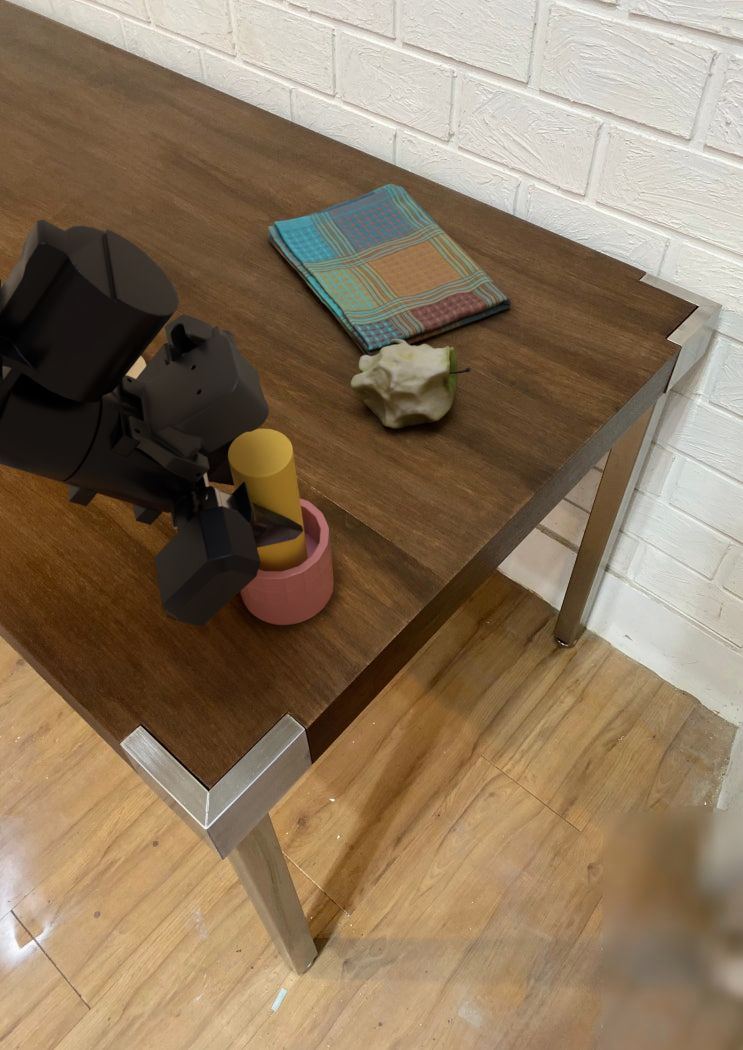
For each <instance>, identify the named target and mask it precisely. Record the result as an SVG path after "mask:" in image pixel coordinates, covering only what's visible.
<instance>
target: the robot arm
mask: <svg viewBox="0 0 743 1050" xmlns="http://www.w3.org/2000/svg"><path fill="white" fill-rule="evenodd" d="M179 301H180V300H179V296H178V293H177V290H176V288H175V286H174V284H173V282H172V281H171V280H170V278H169V276H168V275H167V273H166V272H165V271H164V270H163V269H162V268H161V266H160V265H158V263H157V262H156V261H155V260H154V259H153V258H152V257H150V255H149V254H147V253H146V252H145V251H144V250H142V248H140V247H139V246H137V245H136V244H135V243H133V242H132V241H131V240H129V239H127V238H126V237H124V236H123V235H121V234H119V233H118V232H115V231H113V230H111V229H110V228H109V229H108V228H106V230H105V231H104V230H101V229H99V228H95V227H93V226H88V225H82V224H81V225H72V226H70V227H69V228H67V229H66V230H64V229H63V228H61V227H59V226H58V225H57V226H56V225H55V224H53V223H51V222H50V221H47V220H46V219H38V220H36V221H35V223H34V225H33V226H32V228H31V230H30V231H29V233H28V234H27V236H26V237H25V240H24V243H23V246H22V251H21V254H20V256H19V258H18V260H17V261H16V263H15V265H14V266H13V268H12V270H11V271H10V272H9V274H8V276H7V277H6V279H5V281H4V282H3V284H2V279H1V278H0V465H3V466H5V467H8V468H12V469H15V470H18V471H21V472H25V473H29V474H32V475H35V476H38V477H42V478H44V479H47V480H48V479H49V480H51V481H55V482H58V483H62V484H64V485H67V489H68V502H69V503H73V504H76V505H80V506H82V507H83V506H84V507H87V506H88V505H89V504H90V503H91V502H92V501H93V499H94V498H95V497H96V496H97V495H101V496H104V497H106V498H107V497H108V498H111V499H114V500H118V501H120V502H123V503H127V504H130V505H133V511H134V512H133V513H134V518H135V521H136V522H138V523H142V524H146V525H149V526H151V525H152V524H153V523H154V522H155V521H156V520H157V519H158V518H159V517H160V516H161V515H162V513H166V514H170V519H171V520H170V521H171V525H172V529H173V530H177V533H176V534H175V535H174V536H173V537H172V538H171V539H170V540H169V541H168V542H167V543H166V545H164V546H163V547H162V548H161V550H160V551H159V552H158V553H157V554H156V555H155V556H154V562H155V563H154V564H155V569H156V574H157V582H158V588H159V595H160V601H161V607H162V608H163V611H164V613H165V616H166V617H167V618H168V619H170V620H173V621H176V622H177V623H178V622H179V623H183V624H190V625H193V626H198V627H204V626H205V625H206V624H207V623H208V622H209V621H210V620H211V619H212V618H213V617H214V616H215V615H216V614H217V613H218V612H220V611H221V610H222V609H223V608H224V607H225V606H226V605H227V604H228V603H229V602H230V601H232V599H234V598H235V597H236V596H237V595H238V594H239V593H240V591H241V590H242V589H243V588H244V587H245V586H247V585H248V584H249V583H250V582H251V581H252V580H253V579H254V578H255V577H256V576H257V573H258V569H259V566H260V563H261V562H260V558H259V554H258V550H257V548H258V547H262V546H267V545H272V544H276V543H281V542H285V541H290V540H294V539H296V538H297V537H298V536H299V535H300V534H301V533H302V532H303V527H302V526H301V525H300V524H298V523H296V522H294V521H293V520H291V519H289V518H287V517H284V516H282V515H280V514H278V513H275V512H273V511H271V510H268V509H266V508H264V507H261V506H259V505H257V504H254V503H252V502H251V499H250V495H249V491H248V487H247V484H246V482H243V483H242V484H241V485H240V486H239V487H238V488H237V489H236V490H235V489H234V491H233V492H232V493H228V492H225V491H223V490H219V488H218V487H217V486H213V485H210V483H215V484H221V485H227V486H233V487H235V486H234V482H233V477H232V473H231V469H230V465H229V461H228V450H229V448H230V445H231V444H232V442H233V441H234V440H235V439H236V438H237V437H239V436H240V435H242V434H243V433H245V432H252V431H254V430H255V429H260V427H261V426H262V425H264V423H265V422H266V421H267V419H268V417H269V412H270V409H269V404H268V402H267V400H266V398H265V396H264V392H263V388H262V385H261V382H260V374H259V373H258V370H256V369H255V368H254V366H253V365H252V364H251V363H250V362H249V361H248V359H247V358H246V357H245V356H244V355H243V354H242V353H241V352H240V351H239V350H238V345H237V342H236V338H235V337H234V333H233V332H232V331H230V330H228V329H224V330H222V329H221V328H220V327H219V326H218V325H216V326H214V325H212V324H210V323H209V322H206V321H205V320H201V319H198V318H196V317H193V316H190V315H188V314H186V313H182V314H181V315H179V316H178V317H176V318H174V319H173V320H171V321H170V319H171V318H172V316H173V315H174V314H175V312H176V311H177V309H178V308H179ZM168 321H170V322H168ZM163 328H164V331H165V336H166V341H167V342H164V343H163V344H162V345H161V347H160V348H159V349H158V350H157V352H156V353H155V354H154V355H153V356H152V358H151V359H150V360H149V362H148V363H146V365H147V366H146V367H145V368H144V369H143V371H142V372H141V373H140V374H139V376H138V377H137V378H136V379H135V378H133V377H130V376H128V375H126V374H127V373H128V371H129V370H130V369H131V368H132V366H133V365H134V364H135V362H136V361H137V360H138V359H139V357H140V356H141V357H142V355H143V354H144V352H145V351H146V350H147V349H148V347H149V346H150V345H151V343H152V342H153V341H154V340H155V338H156V337H157V335H159V333H160V332H161V330H162V329H163Z"/></svg>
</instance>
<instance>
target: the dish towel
mask: <svg viewBox="0 0 743 1050" xmlns="http://www.w3.org/2000/svg"><path fill="white" fill-rule="evenodd" d="M267 230H268V232H267V233H266V236H267V239H268V242H270V243H271V245H272V246H273V247H274V248H275V249H276V251H277V252H278V253H279V254H280V255H281V256H282V257H283V258H284V259H285V261H287V263H288V264H289V265H290V266H291V268H293V269H294V270H295V271H296V272H297V273H298V275H299V276H300V277H301V278H302V279H303V280H304V282H305V283H306V285H307V286H308V287H309V288H310V289H311V290H312V292H313V293H314V294H315V295H316V296H317V298H318V299H319V300H320V301H321V303H322V304H324V305H325V306H326V308H327V309H328V311H330V312H331V313H332V315H333V317H335V319H336V320H337V321H338V323H339V324H340V326H341V327H342V328H343V329H344V330H345V332H346V333H347V334H348V336H349V337H350V338H351V339H352V341H353V342H354V343H355V345H356V346H357V347H358V348H359V350H361V352H362V353H363V355H368V356H375V355H377V354H378V353H379V352H380V350H381V349H382V348H383V347H386V346H390V345H398V343H396V342H392V341H391V340H393V339H401V340H404V341H405V342H406V343H407V344H408V345H410V346H411V345H412V344H415V343H417V342H421V341H422V340H426V339H429V338H431V337H434V336H436V335H439V334H442V333H444V332H448V331H450V330H453V329H456V328H459V327H461V326H464V325H467V324H470V323H473V322H475V321H478V320H479V321H480V320H482V319H483V318H487V317H489V316H491V315H495V314H497V313H500V312H503V311H505V310H507V309H509V308H511V307H512V301H511V298H510V297H509V296H508V295H507V294H506V293H505V292H504V291H503V290H502V289H501V288H500V287H499V286H498V285H497V284H496V283H495V282H494V280H493V279H492V278H491V277H490V276H489V275H488V274H487V273H486V271H485V270H484V269H483V268H481V266H479V264H478V263H477V262H475V261H474V260H473V258H472V257H471V256H470V255H469V254H468V253H467V252H466V251H465V250H464V249H463V248H462V247H461V246H460V245H459V244H458V242H456V241H455V240H454V239H453V238H452V237H451V236H450V234H448V233H447V232H446V231H445V230H444V229H442V227H441V226H440V225H439V224H438V223H437V222H435V220H434V219H433V217H431V216H430V215H429V214H428V213H427V212H426V211H425V210H424V209H423V208H422V207H421V205H420V204H419V203H417V201H416V199H414V198H413V197H412V196H411V194H409V193H408V192H407V190H406V189H404V187H403V186H398V185H396V184H394V183H388V184H386V185H382V186H381V187H378V188H376V189H374V190H372V191H369V192H367V193H364V194H362V195H359V196H357V197H354V198H350V199H348V200H345V201H342V202H340V203H337V204H334V205H332V206H329V207H326V208H325V209H321V210H320V211H317V212H313V213H309V214H306V215H303V216H300V217H296V218H291V219H285V220H280V221H279V220H277V221H274V223H273V225H269V226H267Z"/></svg>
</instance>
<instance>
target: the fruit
mask: <svg viewBox="0 0 743 1050" xmlns="http://www.w3.org/2000/svg"><path fill="white" fill-rule="evenodd" d="M391 341H392V342H396V343H398V345H390V346H386V347H383V348H382V349H381V350H380V352H379V353H378V354H377V355H375V356H368V355H365V354H363V355H361V356H360V358H359V361H358V365H357V366H358V370H359V371H360V373H357V374H355V375H353V377H352V379H351V381H350V388H351V389H352V391H353V393H355V395H358V396H361V401H362V402H363V403H364V405H365V406H366V407H368V409H370V410H371V412H372V413H373V414H374V415H375V416H376V417H377V418H378V419H379V421H380V422H381V424H382V425H383V426H384V427H385V428H386V427H387V428H390V429H393V430H395V429H402V428H405V427H413V426H419V425H423V424H427V423H429V424H431V423H434V422H437V421H440V420H441V419H442V418H443V417H445V416H446V414H448V413H449V412H450V410H451V409H452V406H453V403H454V400H455V397H456V395H457V387H458V374H463V373H469V372H471V371H472V369H471V366H469V367H466V368H464V369H461V370H459V369H458V361H459V360H458V357H457V351H456V350H455V348H454V346H450V345H446V346H445V347H441V348H440V347H437V348H434V347H433V346H431V345H429V344H427V343H422V344H420V345H411V344H410V345H408V344H407V343H406V342H405V341H404V340H401V339H393V340H391Z"/></svg>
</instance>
